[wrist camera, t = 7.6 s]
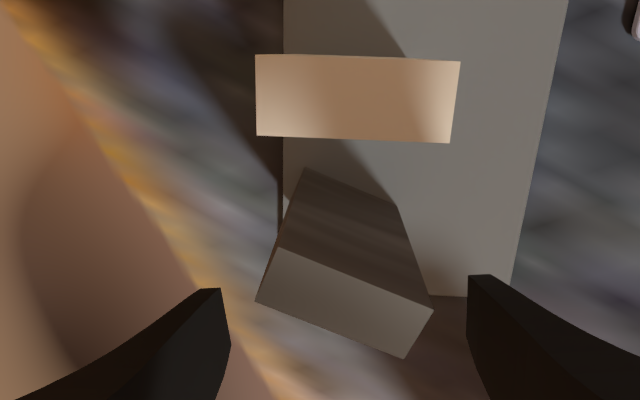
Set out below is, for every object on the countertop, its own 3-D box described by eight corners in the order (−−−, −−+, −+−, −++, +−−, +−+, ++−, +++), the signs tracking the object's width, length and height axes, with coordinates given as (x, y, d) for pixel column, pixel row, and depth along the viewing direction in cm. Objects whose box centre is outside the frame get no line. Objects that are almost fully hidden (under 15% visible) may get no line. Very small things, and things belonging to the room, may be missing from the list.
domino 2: (304, 166, 20) (278, 246, 12) (396, 205, 21) (434, 309, 12) (289, 201, 21) (254, 301, 13) (379, 239, 22) (403, 359, 13)
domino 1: (294, 53, 19) (255, 54, 10) (406, 57, 19) (460, 61, 10) (293, 99, 19) (256, 135, 11) (402, 103, 19) (449, 143, 11)
